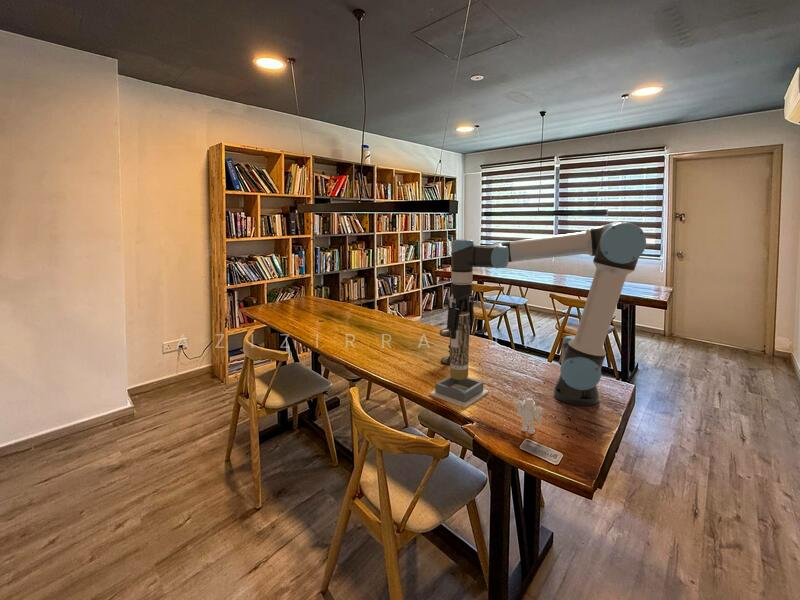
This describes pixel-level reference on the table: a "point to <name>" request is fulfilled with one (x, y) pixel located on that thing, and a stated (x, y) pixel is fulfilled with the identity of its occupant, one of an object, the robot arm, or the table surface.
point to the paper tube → (460, 349)
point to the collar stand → (459, 391)
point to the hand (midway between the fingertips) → (460, 344)
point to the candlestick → (447, 334)
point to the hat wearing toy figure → (528, 413)
